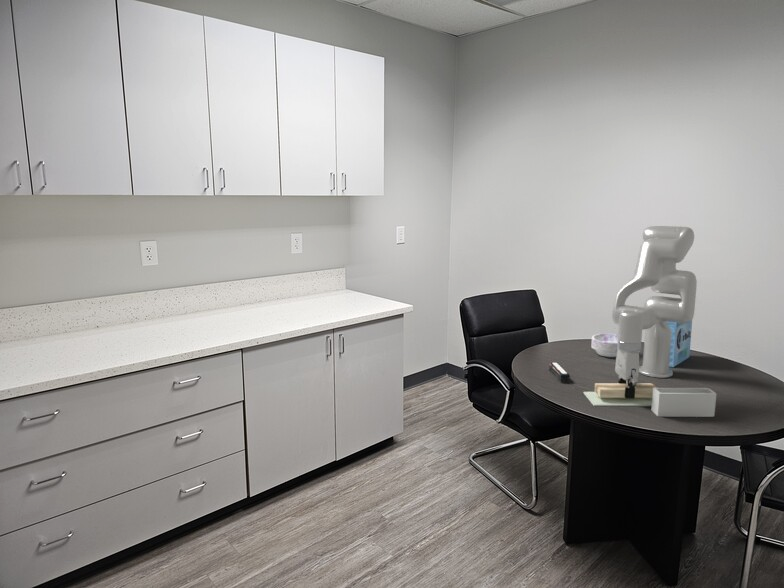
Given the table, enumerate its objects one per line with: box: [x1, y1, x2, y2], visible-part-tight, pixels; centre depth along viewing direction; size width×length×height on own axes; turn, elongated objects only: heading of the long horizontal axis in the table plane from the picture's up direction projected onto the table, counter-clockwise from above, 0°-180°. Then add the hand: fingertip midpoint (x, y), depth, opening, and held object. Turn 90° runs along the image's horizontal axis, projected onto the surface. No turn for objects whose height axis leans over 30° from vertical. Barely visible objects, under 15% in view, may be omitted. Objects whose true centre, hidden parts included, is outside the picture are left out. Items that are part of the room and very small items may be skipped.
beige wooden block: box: [594, 382, 658, 398], centre depth 188 cm, size 6×20×3 cm, turn 87°
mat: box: [583, 391, 652, 407], centre depth 188 cm, size 12×26×1 cm, turn 87°
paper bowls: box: [590, 333, 618, 358], centre depth 239 cm, size 15×15×8 cm
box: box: [650, 387, 717, 418], centre depth 175 cm, size 5×18×8 cm, turn 87°
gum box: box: [666, 320, 693, 368], centre depth 226 cm, size 20×5×23 cm, turn 133°
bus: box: [548, 362, 571, 384], centre depth 215 cm, size 14×25×4 cm, turn 1°
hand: (626, 394), depth 188 cm, fingers closed on beige wooden block, 5 cm apart
